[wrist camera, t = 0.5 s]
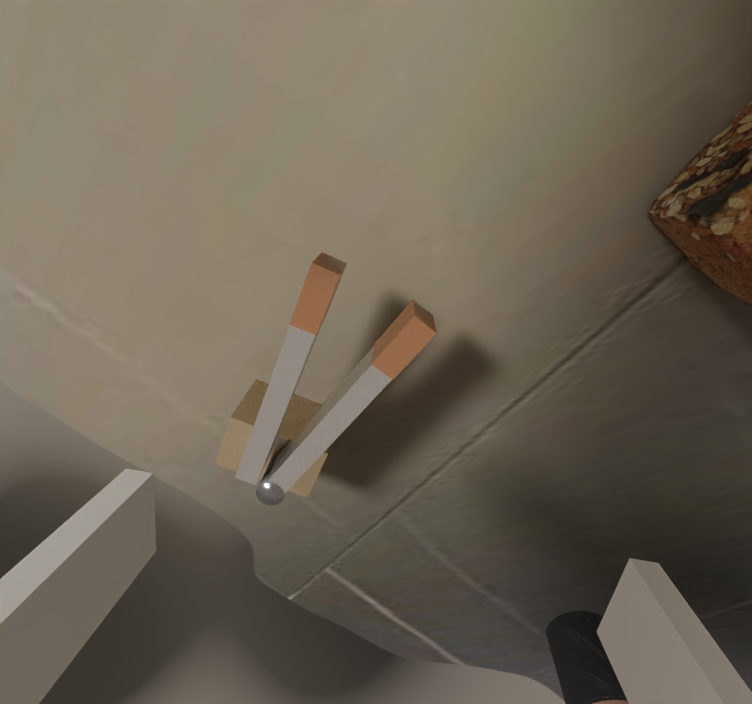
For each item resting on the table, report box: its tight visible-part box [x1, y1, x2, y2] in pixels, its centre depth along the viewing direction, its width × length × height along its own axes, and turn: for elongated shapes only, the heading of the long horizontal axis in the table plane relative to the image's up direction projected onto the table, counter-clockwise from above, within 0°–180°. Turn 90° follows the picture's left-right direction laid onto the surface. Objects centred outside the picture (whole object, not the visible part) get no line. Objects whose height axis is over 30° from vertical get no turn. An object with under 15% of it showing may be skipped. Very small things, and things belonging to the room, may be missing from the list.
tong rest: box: [215, 252, 347, 497], centre depth 30 cm, size 20×8×9 cm, turn 157°
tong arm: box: [256, 300, 437, 505], centre depth 28 cm, size 18×2×3 cm, turn 142°
